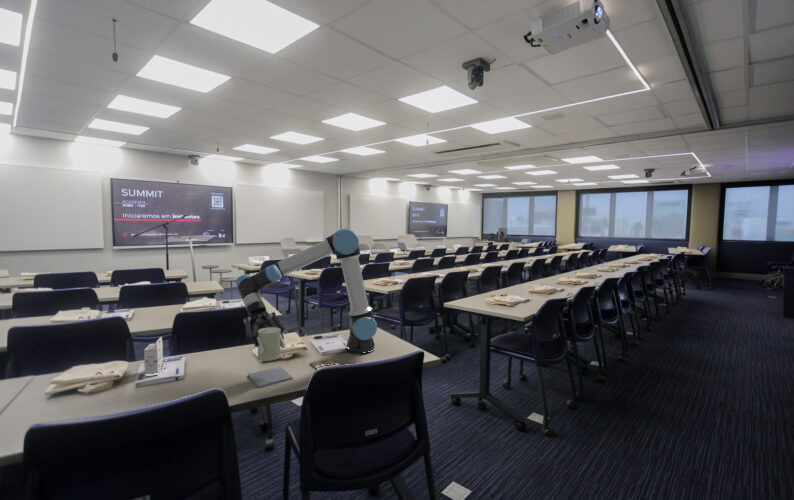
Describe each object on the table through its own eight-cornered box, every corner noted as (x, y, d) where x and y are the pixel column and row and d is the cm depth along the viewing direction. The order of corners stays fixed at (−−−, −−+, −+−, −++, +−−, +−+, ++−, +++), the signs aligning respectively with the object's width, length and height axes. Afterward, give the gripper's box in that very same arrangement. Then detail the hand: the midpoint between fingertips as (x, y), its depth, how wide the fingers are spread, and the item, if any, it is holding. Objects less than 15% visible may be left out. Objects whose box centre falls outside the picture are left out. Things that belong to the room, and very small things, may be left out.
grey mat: (280, 368, 156) (280, 366, 156) (292, 378, 145) (292, 377, 145) (247, 376, 147) (247, 374, 147) (258, 387, 136) (258, 385, 136)
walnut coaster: (330, 359, 168) (330, 358, 168) (342, 366, 159) (342, 365, 159) (309, 364, 161) (309, 363, 161) (320, 372, 153) (320, 370, 152)
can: (252, 358, 144) (252, 329, 143) (270, 351, 152) (270, 324, 151) (268, 362, 139) (268, 333, 139) (285, 355, 147) (285, 328, 147)
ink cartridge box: (150, 369, 151) (149, 336, 151) (163, 368, 153) (162, 335, 153) (143, 377, 144) (143, 342, 143) (158, 376, 145) (157, 341, 145)
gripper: (274, 306, 163) (292, 348, 153) (227, 314, 146) (244, 361, 137) (280, 297, 159) (299, 339, 149) (232, 304, 143) (251, 351, 133)
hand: (273, 349), depth 143 cm, fingers closed on can, 9 cm apart
